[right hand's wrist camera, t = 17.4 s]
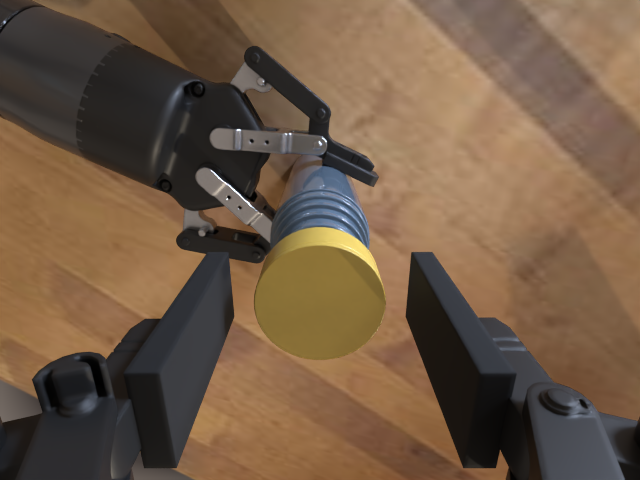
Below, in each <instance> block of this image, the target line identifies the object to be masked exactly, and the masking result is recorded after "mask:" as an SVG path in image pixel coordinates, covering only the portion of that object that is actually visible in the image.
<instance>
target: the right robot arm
mask: <svg viewBox="0 0 640 480" xmlns="http://www.w3.org/2000/svg"><path fill="white" fill-rule="evenodd" d="M233 319H234V308H233V297H232V286H231V275H230V264H229V253H228V252H208V253H207V254H206V255H205V257H204V258H203V260H202V261H201V263H200V264H199V265H198V267H197V268H196V270H195V271H194V273H193V274H192V276H191V277H190V278H189V280H188V281H187V283H186V284H185V286H184V287H183V288H182V290H181V291H180V293H179V294H178V296H177V297H176V298H175V300H174V301H173V303H172V304H171V306H170V307H169V308H168V310H167V311H166V313H165V314H164V316H163V317H162V318H161V319H144V320H143V321H141V322H140V323H138V324H137V325H135V326H134V327H132V328H131V329H130V330H129V331H128V333H127V334H126V335H125V336H124V338H123V339H122V340H121V343H119V344H118V345H117V346H116V348H115V349H114V352H112V353H111V354H110V355H109V356H108V358H107V359H105V357H103V356H102V355H101V354H99V353H93V352H81V353H75V354H71V355H67V356H64V357H61V358H59V359H57V360H55V361H53V362H51V363H49V364H48V365H46V366H45V367H44V368H42V369H41V370H39V371H38V373H37V374H36V375H35V376H34V378H33V379H32V381H33V384H34V387H35V390H36V393H37V396H38V399H39V402H40V405H41V408H42V413H41V414H38V415H34V416H30V417H26V418H21V419H17V420H12V421H8V422H4V423H2V420H1V418H0V480H134V477H133V472H132V466H133V464H134V462H135V460H136V458H137V456H138V454H139V452H141V456H142V460H143V465H144V468H177V466H178V463H179V460H180V458H181V455H182V452H183V450H184V447H185V445H186V442H187V439H188V437H189V434H190V431H191V429H192V426H193V424H194V421H195V418H196V416H197V413H198V410H199V408H200V405H201V403H202V400H203V397H204V395H205V392H206V389H207V387H208V384H209V382H210V379H211V376H212V374H213V371H214V368H215V366H216V363H217V361H218V358H219V355H220V353H221V350H222V347H223V345H224V342H225V340H226V337H227V334H228V332H229V329H230V326H231V324H232V321H233ZM406 319H407V321H408V324H409V326H410V329H411V332H412V334H413V337H414V340H415V342H416V345H417V347H418V350H419V353H420V355H421V358H422V361H423V363H424V366H425V368H426V371H427V374H428V376H429V379H430V382H431V384H432V387H433V389H434V392H435V395H436V397H437V400H438V403H439V405H440V408H441V410H442V413H443V416H444V418H445V421H446V424H447V426H448V429H449V431H450V434H451V437H452V439H453V442H454V445H455V447H456V450H457V452H458V455H459V458H460V460H461V463H462V466H463V468H496V465H497V461H498V456H499V452H500V450H501V452H502V454H503V456H504V458H505V460H506V462H507V464H508V466H509V468H508V472H507V476H506V480H640V418H639V420H638V421H635V420H631V419H626V418H622V417H617V416H613V415H609V414H604V413H601V412H598V411H597V410H596V408H595V407H594V405H593V404H592V402H590V401H589V400H588V399H587V398H586V397H584V396H583V395H582V394H581V393H579V392H577V391H575V390H573V389H571V388H569V387H567V386H564V385H561V384H557V383H554V382H553V381H552V380H551V378H550V377H549V376H548V375H547V373H546V372H545V371H544V370H543V368H542V367H541V366H540V365H539V363H538V362H537V361H536V360H535V358H534V357H533V356H532V355H531V353H530V352H529V351H527V348H526V347H525V346H524V345H523V343H522V342H521V341H519V338H518V337H517V336H516V335H515V333H514V332H513V331H512V330H511V329H510V327H508V326H507V325H505V324H504V323H502V322H501V321H499V320H498V319H496V318H478V317H477V316H476V314H475V313H474V311H473V310H472V308H471V307H470V306H469V304H468V303H467V301H466V300H465V298H464V297H463V296H462V294H461V293H460V291H459V290H458V288H457V287H456V286H455V284H454V283H453V281H452V280H451V278H450V277H449V276H448V274H447V273H446V271H445V270H444V268H443V267H442V265H441V264H440V263H439V261H438V260H437V258H436V257H435V255H434V254H433V253H432V252H412V253H411V264H410V275H409V286H408V297H407V308H406Z"/></svg>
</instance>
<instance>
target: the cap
mask: <svg viewBox="0 0 640 480" xmlns="http://www.w3.org/2000/svg"><path fill="white" fill-rule="evenodd" d="M385 305H386V299H385V291H384V287H383V284H382V281H381V278H380V275H379V272H378V269H377V266H376V263H375V260H374V258H373V257H372V255H371V253H370V252H369V250H368V249H367V248H366V247H365V246H364V245H363V244H362V243H361V242H360V241H359V240H358V239H356V238H355V237H353V236H352V235H350V234H348V233H346V232H343V231H341V230H337V229H333V228H326V227H313V228H307V229H303V230H299V231H297V232H294V233H292V234H290V235H288V236H286V237H285V238H283V239H282V240H281V241H279V242H278V243H277V244H276V245H275V246H274V247H273V249H272V250H271V251H270V253H269V254H268V256H267V258H266V260H265V262H264V265H263V268H262V271H261V274H260V277H259V280H258V283H257V286H256V290H255V295H254V309H255V314H256V318H257V320H258V323H259V325H260V327H261V329H262V331H263V332H264V333H265V335H266V336H267V337H268V338H269V339H270V340H271V341H272V342H273V343H274V344H275V345H276V346H278V347H279V348H281V349H282V350H284V351H286V352H288V353H290V354H292V355H295V356H298V357H301V358H305V359H312V360H327V359H334V358H339V357H342V356H345V355H348V354H350V353H352V352H354V351H356V350H357V349H359V348H361V347H362V346H363V345H365V344H366V343H367V342H368V341H369V340H370V339H371V338H372V337H373V336H374V334H375V333H376V331H377V330H378V328H379V326H380V325H381V322H382V320H383V317H384V313H385Z"/></svg>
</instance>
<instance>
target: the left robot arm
mask: <svg viewBox="0 0 640 480" xmlns="http://www.w3.org/2000/svg"><path fill="white" fill-rule="evenodd" d="M244 59H245V62H244V63H243V65H242V66H241V68H240V69H239V71H238V72H237V74H236V75H235V77H234V78H233V80H232V81H231V83H213V82H210V81H208V80H205V79H203V78H201V77H199V76H197V75H195V74H193V73H191V72H189V71H187V70H185V69H183V68H181V67H179V66H177V65H175V64H172V63H170V62H168V61H166V60H164V59H162V58H160V57H158V56H156V55H154V54H152V53H150V52H148V51H146V50H144V49H142V48H140V47H138V46H136V45H133V44H131V43H130V42H129V41H128V40H126V39H125V38H123V37H121V36H119V35H117V34H115V33H109V32H107V31H105V30H103V29H101V28H99V27H96V26H94V25H92V24H90V23H87V22H85V21H82V20H79V19H77V18H74V17H70V16H67V15H64V14H62V13H59V12H56V11H54V10H52V9H49V8H47V7H45V6H43V5H41V4H39V3H36V2H34V1H32V0H0V117H1V118H3V119H6V120H8V121H10V122H12V123H14V124H16V125H18V126H20V127H22V128H23V129H25V130H27V131H28V132H30V133H32V134H33V135H35V136H37V137H39V138H40V139H42V140H44V141H46V142H48V143H51V144H53V145H55V146H57V147H59V148H62V149H64V150H66V151H69V152H71V153H73V154H76V155H78V156H80V157H82V158H85V159H87V160H89V161H92V162H94V163H96V164H99V165H101V166H103V167H105V168H108V169H110V170H112V171H115V172H117V173H119V174H122V175H124V176H126V177H128V178H131V179H133V180H135V181H138V182H140V183H142V184H145V185H147V186H149V187H152V188H154V189H157V190H160V191H163V192H166V193H168V194H169V195H171V196H172V197H173V198H174V199H175V200H176V201H177V202H178V203H179V204H180V205H181V206H182V207H183V208H185V212H184V223H183V231H182V232H181V233H180V234H179V235H178V236H177V239H176V242H177V245H178V246H179V247H180V248H181V249H184V250H188V251H194V252H199V253H204V254H207V253H208V252H228V253H229V258H231V259H236V260H241V261H246V262H252V263H260V262H262V261H263V260H264V258H265V256H266V255H267V254H268V253H269V252H270V251H271V247H270V232H271V225H272V222H273V219H274V216H275V213H276V211H275V210H274V209H273V208H272V207H271V206H270V205H269V204H268V203H267V201H266V199H265V198H264V197H263V196H262V195H261V194H260V193H259V192H258V191H257V190H256V187H257V184H258V182H259V178H260V171H261V168H262V166H263V165H264V164H265V163H266V161H267V160H268V158H269V156H270V154H271V153H277V154H288V153H291V154H303V155H314V156H317V157H319V158H321V159H322V163H323V164H325V165H327V166H329V167H331V168H334V169H336V170H338V171H340V172H342V173H344V174H346V175H348V176H350V177H352V178H355V179H357V180H359V181H361V182H363V183H365V184H367V185H369V186H372V187H374V185H375V184H376V182H377V180H378V178H379V176H378V175H377V174H376V172H374V171H372V170H373V168H374V165H373V163H372V162H371V161H370V160H369V159H368V158H367V156H365V155H363V154H361V153H358V152H357V151H354V150H352V149H350V148H348V147H346V146H344V145H342V144H340V143H338V142H336V141H334V140H333V139H332V138H331V137H330V136H329V133H328V130H329V120H330V116H331V111H330V108H329V106H328V105H327V104H326V103H325V102H324V101H323V100H321V99H320V98H319V97H318V96H317V95H316V94H314V93H313V92H312V91H311V90H310V89H309V88H307V87H306V86H305V85H304V84H303V83H302V82H300V81H299V80H298V79H297V78H296V77H295V76H293V75H292V74H291V73H290V72H289V71H288V70H286V69H285V68H284V67H283V66H282V65H280V64H279V63H278V62H277V61H276V60H275V59H273V58H272V57H271V56H270V55H269V54H268V53H266V52H265V51H264V50H262V49H261V48H259V47H257V46H252V47H249V48H248V49H247V50H246V52H245V55H244ZM272 88H275V89H276V90H277V91H278V92H279V93H281V94H282V95H283V96H284V97H285V98H287V99H288V100H289V101H290V102H291V103H293V104H294V105H295V106H296V107H297V108H299V109H300V110H301V111H302V112H303V113H305V114H306V115H307V116H308V117H309V118H310V121H309V131H304V130H294V129H289V128H279V127H268V126H264V125H263V123H262V121H261V119H260V118H259V116H258V114H257V112H256V111H255V109H254V107H253V105H252V104H251V102H250V100H249V98H248V97H247V95H246V92H247V91H248V90H250V89H255V90H257V91H259V92H262V93H266V92H269V91H271V90H272ZM222 206H226V207H227V208H228V209H229V210H230V211H231V212H232V213H233V214H234V215H235V216H237V217H238V218H239V219H240V220H241V221H242V222H243V223H244V224H246V225H250V226H252V227H253V228H254V229H255V230H256V231H257V232H258V233H259V234H256V233H251V232H246V231H241V230H236V229H231V228H226V227H220V226H217V224H216V222H215V220H214V219H212V218H210V217H207V216H206V215H205V214H204V213H203V210H206V209H211V208H217V207H222ZM240 206H242V207H240Z"/></svg>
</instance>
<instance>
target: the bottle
mask: <svg viewBox="0 0 640 480" xmlns="http://www.w3.org/2000/svg"><path fill="white" fill-rule="evenodd" d="M313 227H326V228H333V229H337V230H341V231H343V232H346V233H348V234H350V235H352V236H353V237H355V238H356V239H358V240H359V241H360V242H361V243H362V244H363V245H364V246H365V247H366V248H367V249H368V250H369V241H370V239H369V227H368V222H367V219H366V217H365V214H364V211H363V208H362V206H361V203H360V200H359V197H358V195H357V192H356V189H355V186H354V184H353V181H352V178H351V177H350V176H348V175H346V174H344V173H342V172H340V171H338V170H336V169H334V168H331V167H329V166H327V165H325V164H323V163H322V159H321V158H319V157H317V156H314V155H301V156H300V157H299V158H298V159H297V160H296V162H295V163H294V165H293V167H292V169H291V172H290V175H289V178H288V180H287V183H286V186H285V189H284V191H283V194H282V197H281V200H280V202H279V205H278V208H277V211H276V213H275V216H274V219H273V222H272V225H271V232H270V247H271V250H272V249H273V247H274V246H275V245H276V244H277V243H278V242H279V241H281V240H282V239H283V238H285V237H286V236H288V235H290V234H292V233H294V232H297V231H299V230H303V229H307V228H313Z"/></svg>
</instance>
